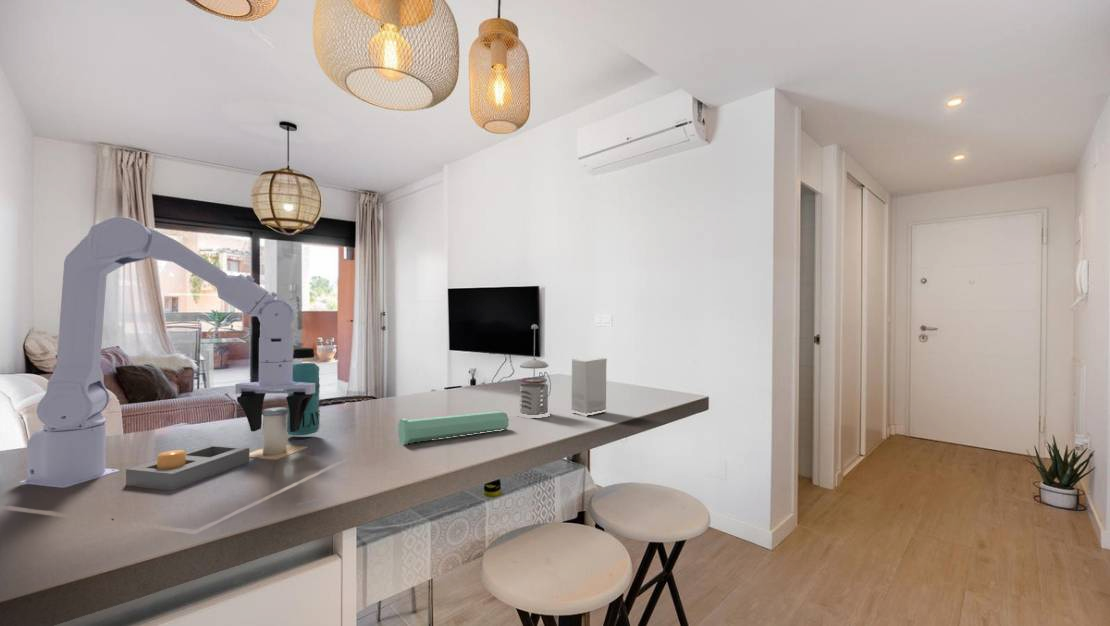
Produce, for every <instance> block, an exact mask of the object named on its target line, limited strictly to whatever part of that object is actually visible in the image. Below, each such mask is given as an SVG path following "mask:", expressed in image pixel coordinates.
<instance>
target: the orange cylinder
mask: <svg viewBox="0 0 1110 626" xmlns="http://www.w3.org/2000/svg"><path fill="white" fill-rule="evenodd" d="M186 451H187V450H184V449H175V450H168V451H163V452H160V453H158V454H157V455H156V460H157V469H163V470H170V469H174V468H177V467H180V466H183V465H186Z"/></svg>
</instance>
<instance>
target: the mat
mask: <svg viewBox="0 0 1110 626" xmlns="http://www.w3.org/2000/svg"><path fill="white" fill-rule="evenodd" d="M305 449H308V446H299V445H291V444H289V445H288V444H287V447H286V451H285V452H283V453H279V454H273V455H266V454H263V447H262V448H260V449H257V450H254V451H251V452H250V451H249V459H259V460H260V459H261V460H272V461H277V460H280V459H284V458H285V457H288V456H290V455H293V454H295V453H298V452H300V451H304V450H305Z"/></svg>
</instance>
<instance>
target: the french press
mask: <svg viewBox="0 0 1110 626" xmlns="http://www.w3.org/2000/svg"><path fill="white" fill-rule="evenodd" d="M530 329H531V330H533V358H532V359H528V360H525V361H523V362H522V363H520V364H519V367H520V368H522V369H533V377H524V378H521V379H520V382H522V383H521V384H520V385H519V393H520V394H519V398H520V399H519V403H520V404H519V411H520V413H522V414H527V415H539V414H545V413H547V412H548V410H549V408H548V407H549V406H548V405H549V396H550V393H551V389H552V385H551V384H552V383H551V382H552V381H551V377H550V375H549V374H548V372H547V371H544V373H543V372H542V371H540V372H538V376H539V377H535V372H536V371H535V370H536V369H538V370H539V369H546V368H549V363H547V362H546V361H543V360H541V359H537V358H535V357H536V356H535V354H536V352H535V351H536V329H539V326H538V325H537V324H535V323H534V324H532V325H531V328H530ZM546 375H547V377H548V380H549V385H548V384H547V381H548V380H547V378H545V376H546Z"/></svg>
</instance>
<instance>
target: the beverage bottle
mask: <svg viewBox="0 0 1110 626" xmlns="http://www.w3.org/2000/svg"><path fill="white" fill-rule="evenodd" d="M312 358H315V349H314V348H312V347H311V348H310V347H299V348H293V359H312ZM293 382H303V383H315V393H313V396H312V398H311V400H310V401H309V403H308V405H307V407H306V409H305V412H304V414H303V417H302V421H301V424H300V429H299V430H297V431H295V432H290V412H289V406H288V405H287V406H286V408H288V413H287V435H289V436H306V435H307V436H308V435H312V434H315V433H318V431H319V429H320V425H321V424H320V417H321V415H320V413H321V411H320V406H321V405H320V404H321V403H320V392H321V390H320V388H321V384H320V366H319V365H317V364H316V363H315V362H295V363H293ZM291 395H293V394H290V393H287V397H288V396H291Z"/></svg>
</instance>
